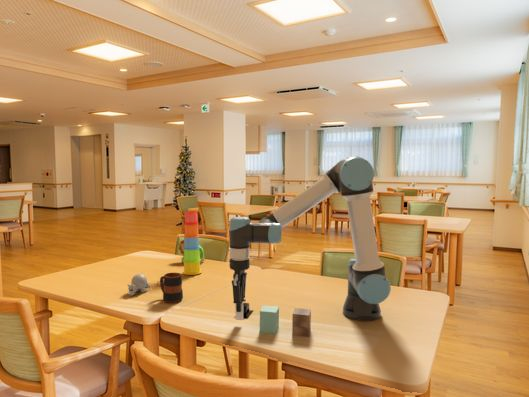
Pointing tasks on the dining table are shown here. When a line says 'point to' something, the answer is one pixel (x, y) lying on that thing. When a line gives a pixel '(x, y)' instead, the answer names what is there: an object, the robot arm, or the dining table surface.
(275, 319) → the teal block
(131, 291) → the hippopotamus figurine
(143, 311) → the dining table surface
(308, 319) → the walnut block
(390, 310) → the dining table surface
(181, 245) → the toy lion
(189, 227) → the stacking cups
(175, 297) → the mug
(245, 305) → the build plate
